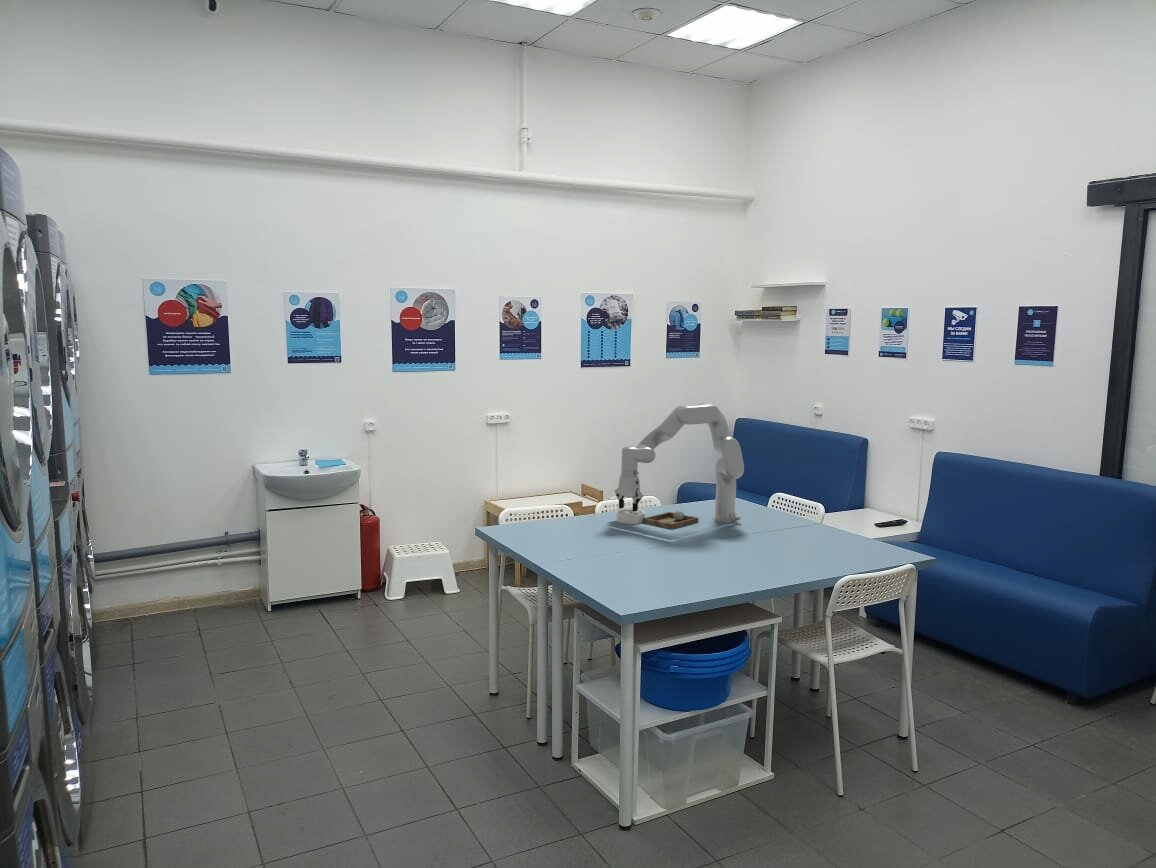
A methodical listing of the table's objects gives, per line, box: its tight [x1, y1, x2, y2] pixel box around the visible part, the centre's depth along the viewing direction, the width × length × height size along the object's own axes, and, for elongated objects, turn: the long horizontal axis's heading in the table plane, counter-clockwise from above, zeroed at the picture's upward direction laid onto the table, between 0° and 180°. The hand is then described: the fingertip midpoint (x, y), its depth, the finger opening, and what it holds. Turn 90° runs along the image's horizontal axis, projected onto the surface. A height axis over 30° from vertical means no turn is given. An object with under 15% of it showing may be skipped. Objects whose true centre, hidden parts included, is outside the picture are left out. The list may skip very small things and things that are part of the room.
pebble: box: [673, 509, 685, 521], centre depth 388 cm, size 5×5×5 cm
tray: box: [643, 511, 699, 530], centre depth 383 cm, size 17×21×3 cm
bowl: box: [615, 508, 646, 525], centre depth 386 cm, size 13×13×5 cm
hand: (628, 509), depth 384 cm, fingers open, 7 cm apart
